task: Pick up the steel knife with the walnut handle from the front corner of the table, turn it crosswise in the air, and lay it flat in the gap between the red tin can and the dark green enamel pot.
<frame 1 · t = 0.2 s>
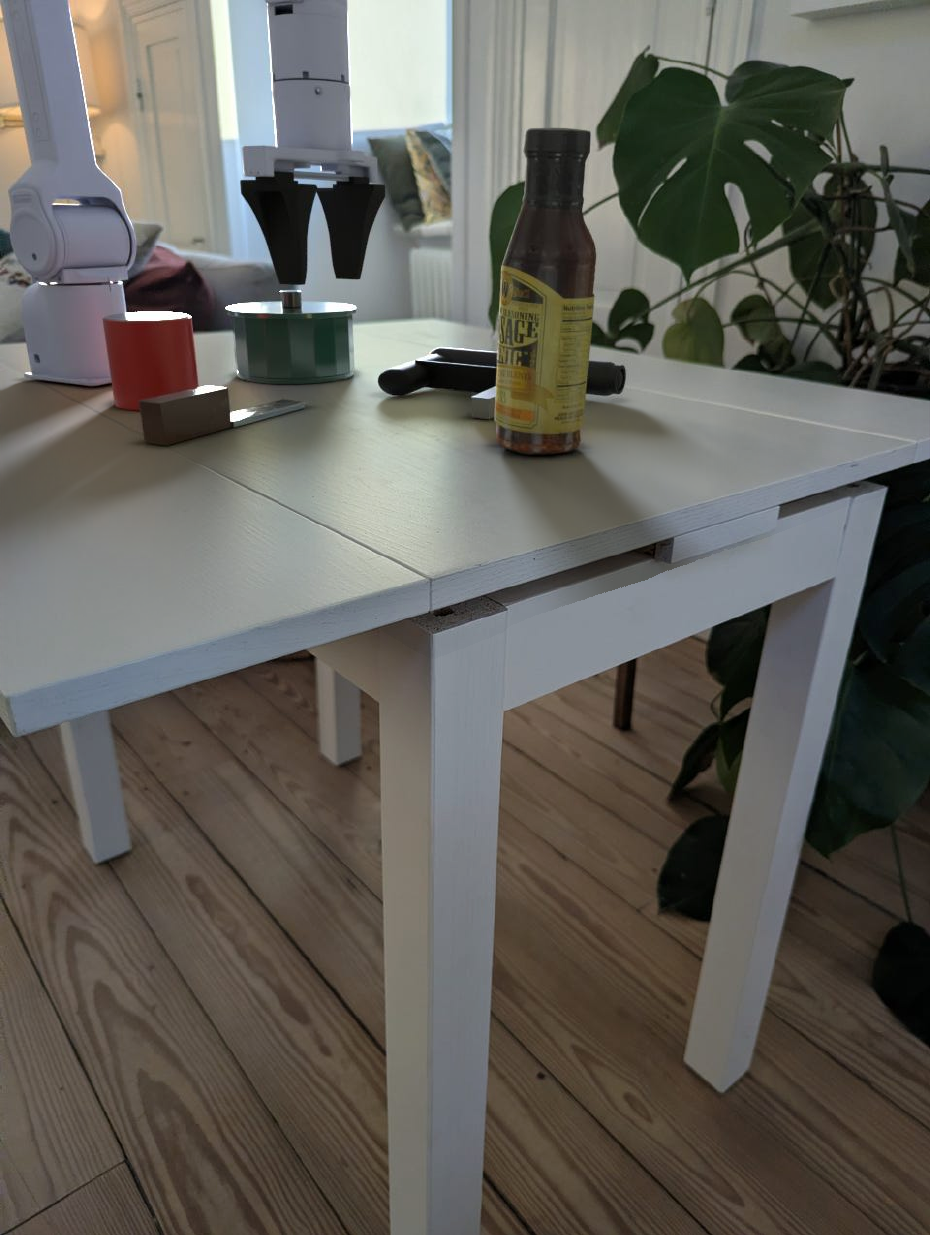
hand: (321, 281, 72), 10 cm above the table, tool pointing down, fingers open, 7 cm apart
sauce bottle: (538, 450, 64), on the table
pot: (296, 374, 92), on the table
can: (158, 402, 78), on the table
knife: (189, 435, 67), on the table
pot lid: (292, 312, 90), point 6 cm above the table, touching pot
door handle: (491, 401, 81), on the table
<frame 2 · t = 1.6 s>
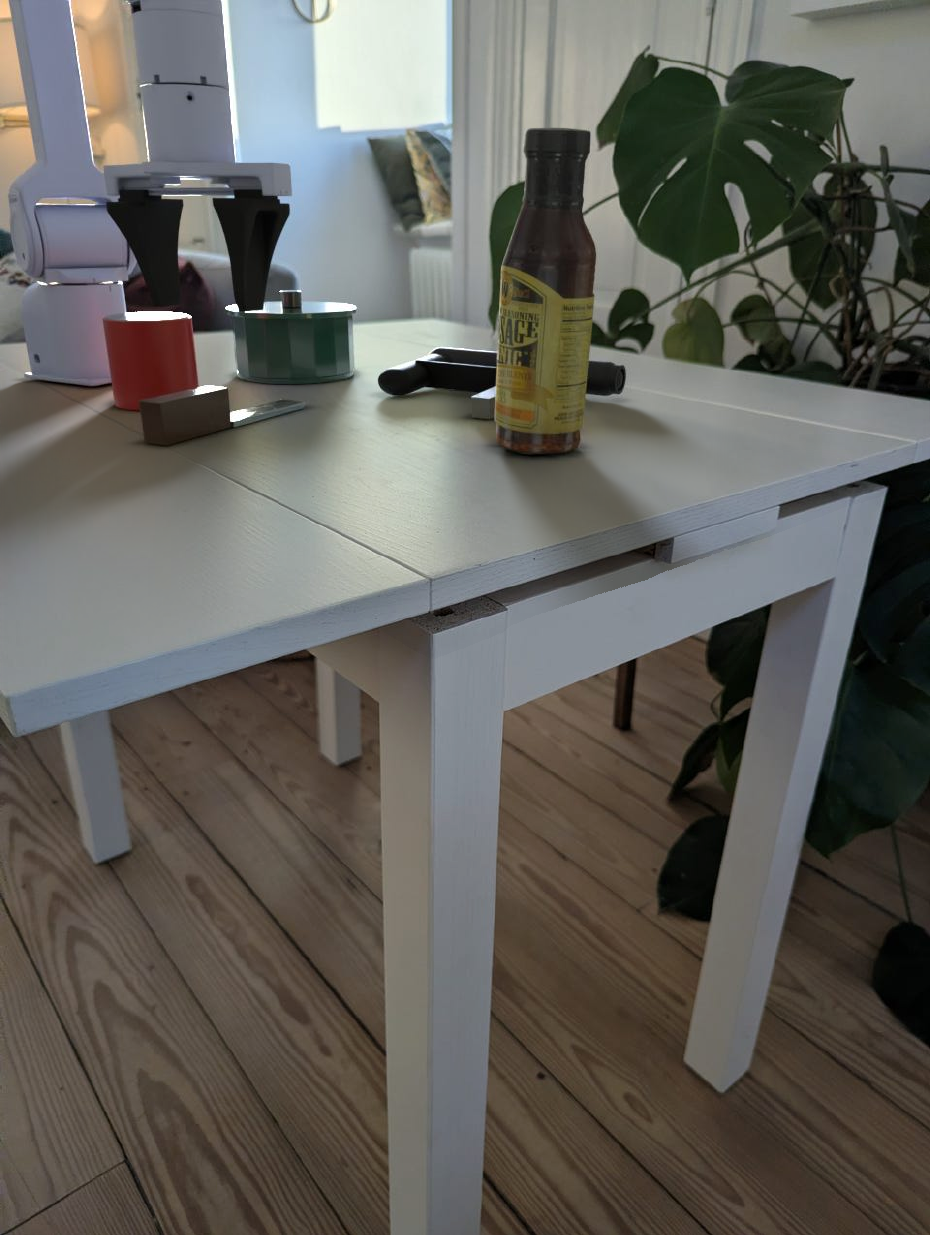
hand: (207, 308, 65), 9 cm above the table, tool pointing down, fingers open, 7 cm apart
nothing on the table moved.
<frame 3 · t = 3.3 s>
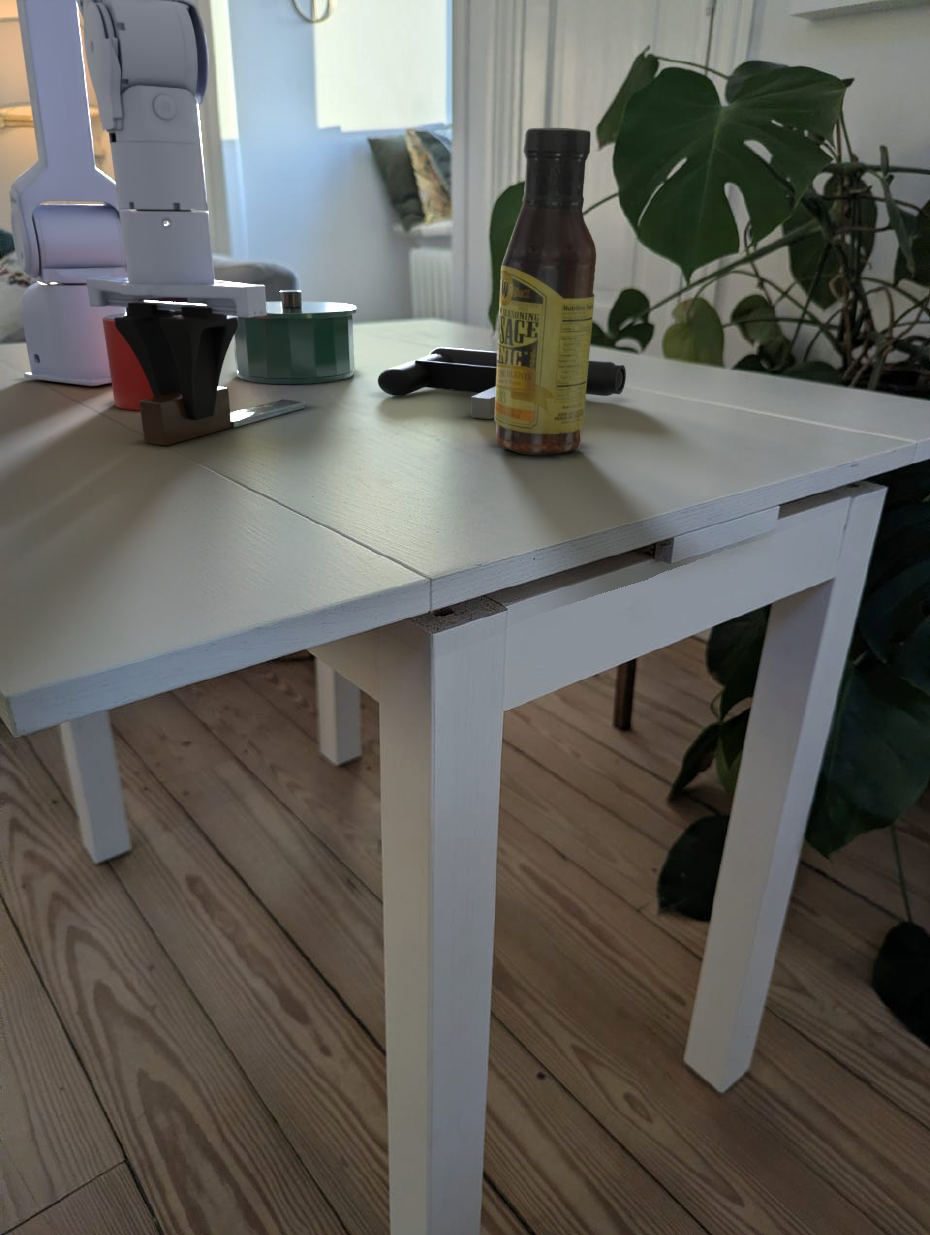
hand: (187, 415, 66), 1 cm above the table, tool pointing down, fingers closed on knife, 2 cm apart
knife: (189, 435, 67), on the table, touching gripper
everything else where it was.
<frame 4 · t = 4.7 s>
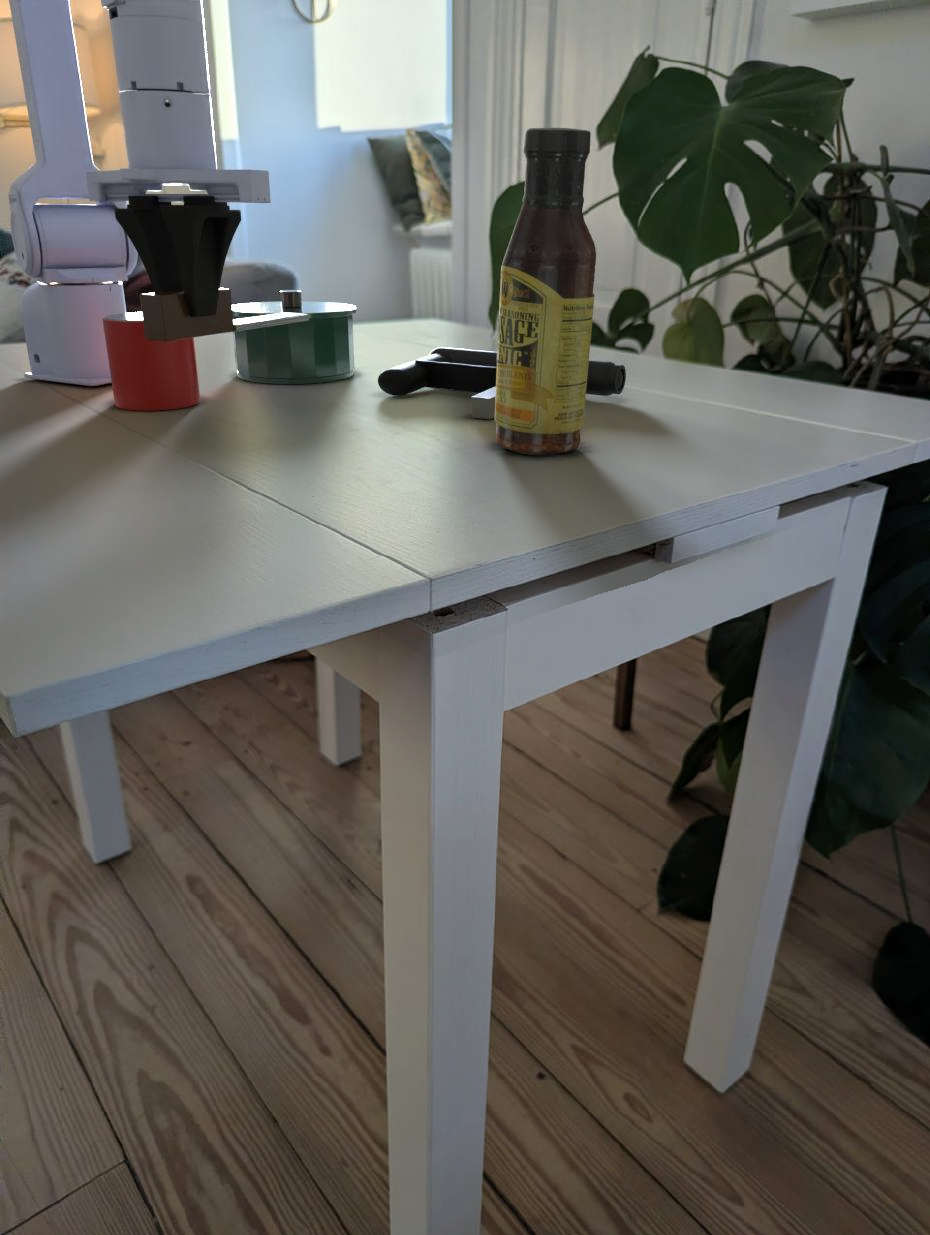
hand: (189, 314, 65), 8 cm above the table, tool pointing down, fingers closed on knife
knife: (191, 335, 65), point 7 cm above the table, touching gripper
everything else where it was.
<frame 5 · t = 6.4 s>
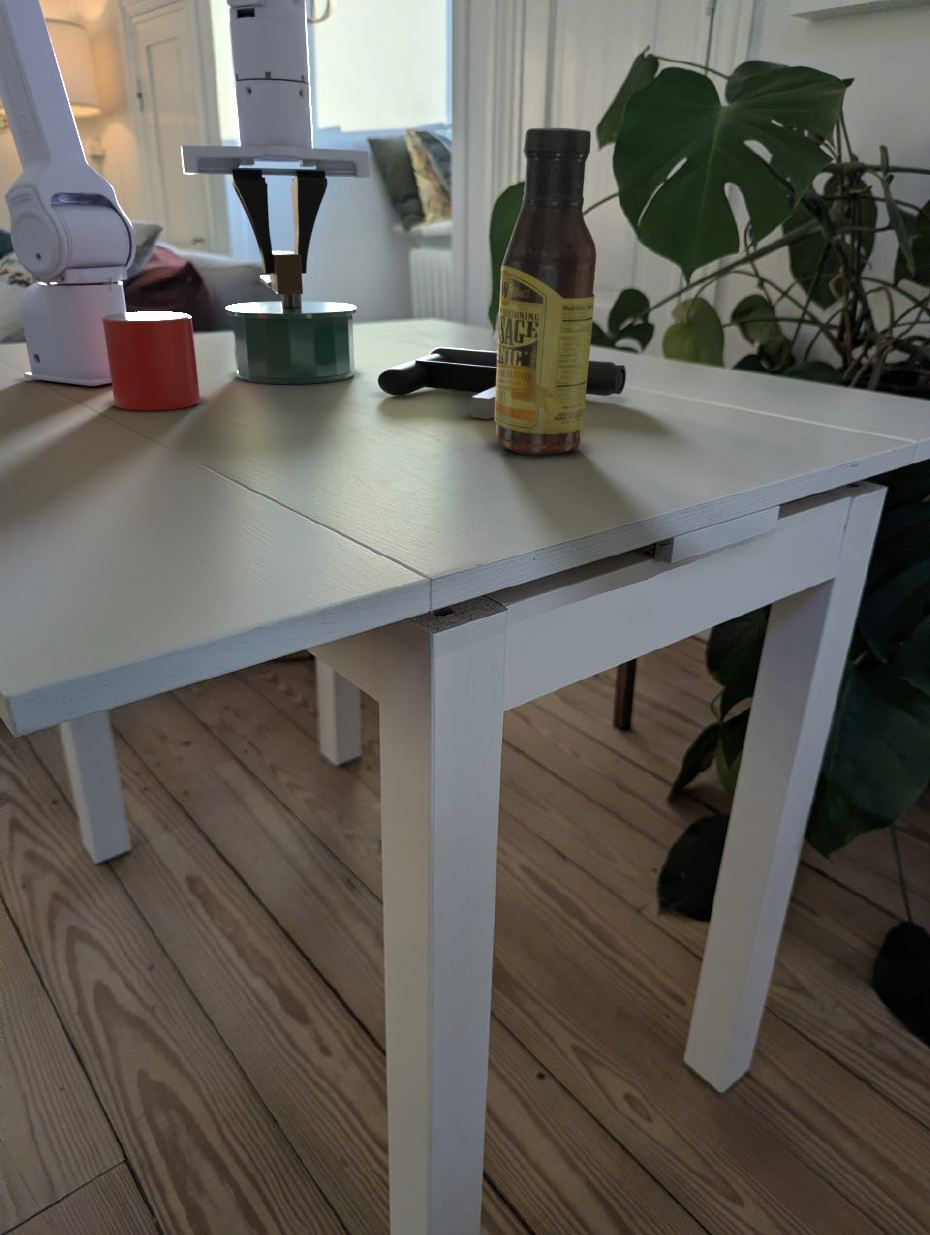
hand: (284, 273, 75), 10 cm above the table, tool pointing down, fingers closed on knife
knife: (286, 291, 76), point 9 cm above the table, touching gripper
everything else where it was.
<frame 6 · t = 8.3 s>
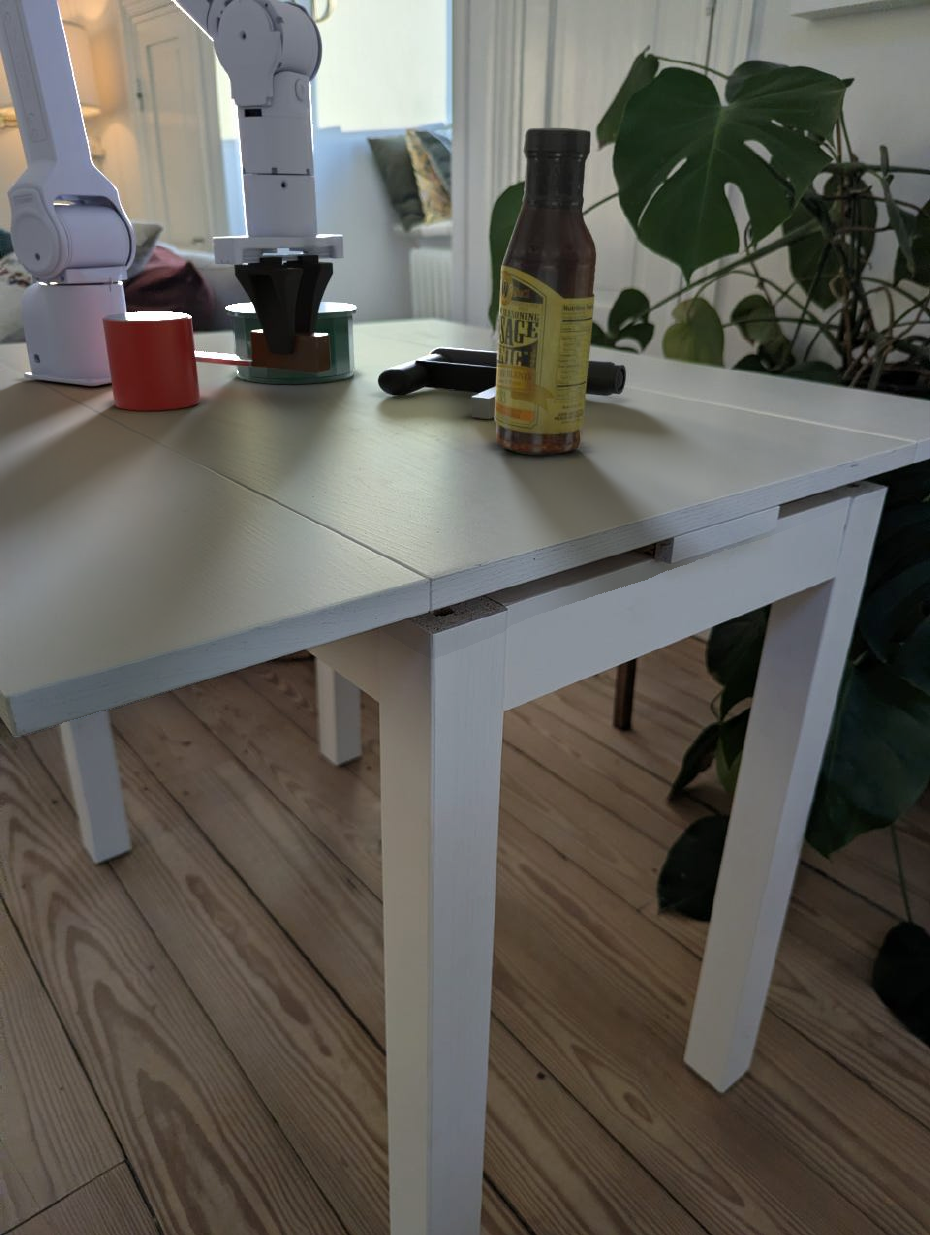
hand: (290, 352, 78), 4 cm above the table, tool pointing down, fingers closed on knife
knife: (291, 368, 79), point 3 cm above the table, touching gripper
everything else where it was.
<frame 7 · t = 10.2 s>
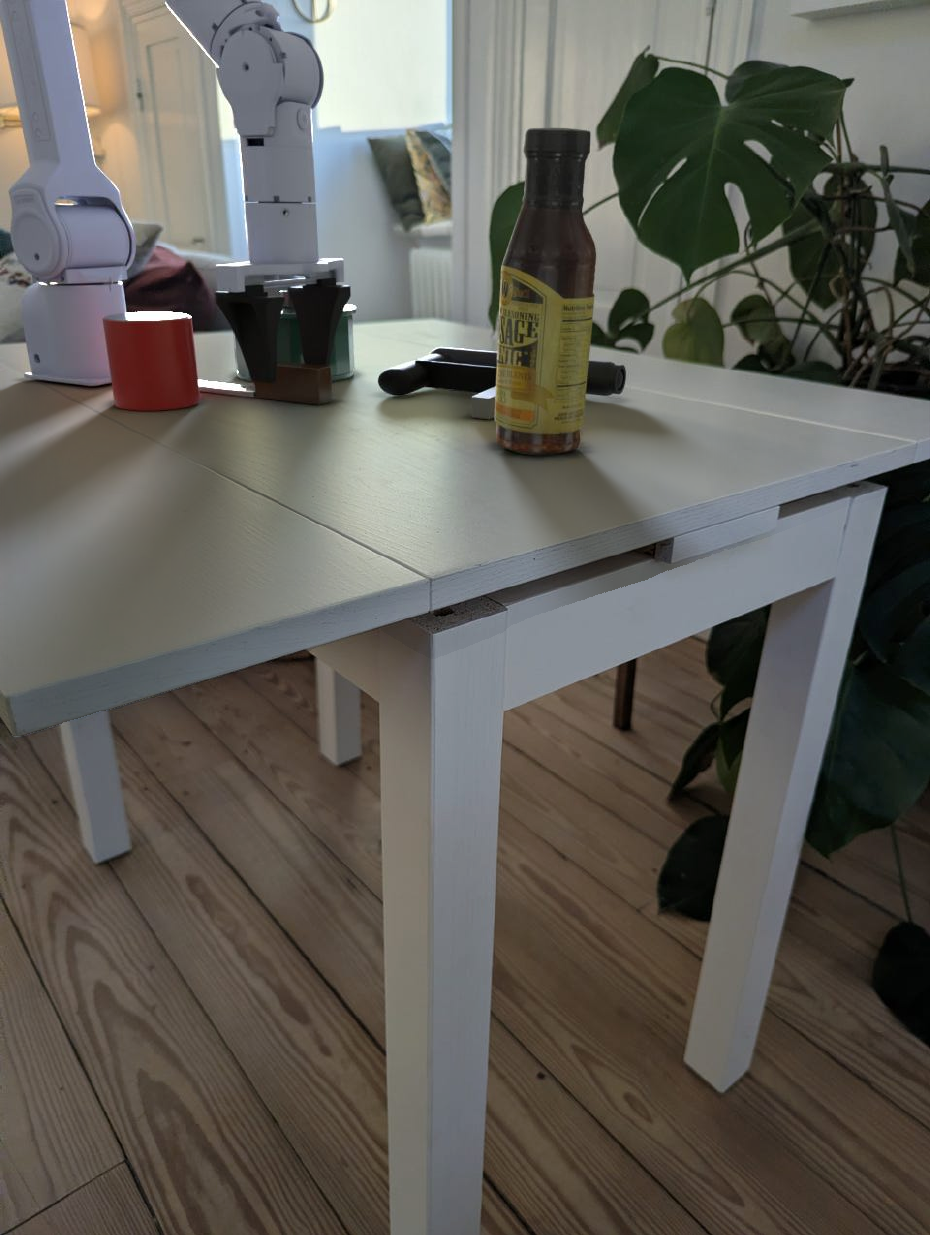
hand: (291, 375, 79), 2 cm above the table, tool pointing down, fingers open, 7 cm apart
knife: (293, 399, 80), on the table
everything else where it was.
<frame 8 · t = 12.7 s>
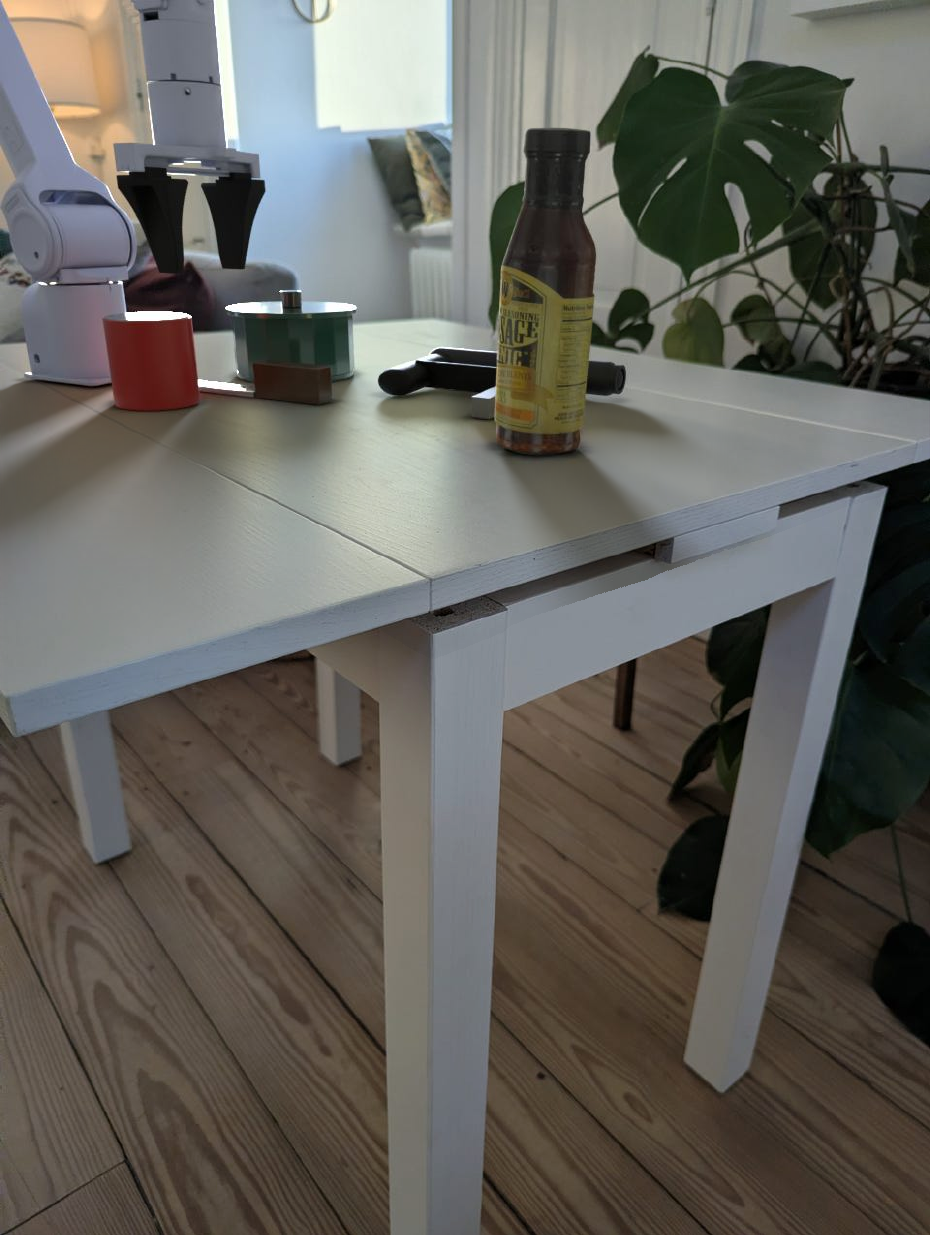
hand: (203, 271, 77), 10 cm above the table, tool pointing down, fingers open, 7 cm apart
nothing on the table moved.
at the end: knife 0.0 cm from the target spot on the table beside the pot, on the table; knife 11.4 cm from the can (horizontally); knife tilted 0° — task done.
